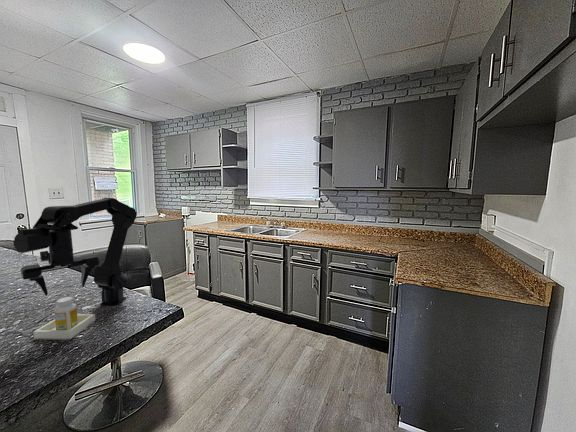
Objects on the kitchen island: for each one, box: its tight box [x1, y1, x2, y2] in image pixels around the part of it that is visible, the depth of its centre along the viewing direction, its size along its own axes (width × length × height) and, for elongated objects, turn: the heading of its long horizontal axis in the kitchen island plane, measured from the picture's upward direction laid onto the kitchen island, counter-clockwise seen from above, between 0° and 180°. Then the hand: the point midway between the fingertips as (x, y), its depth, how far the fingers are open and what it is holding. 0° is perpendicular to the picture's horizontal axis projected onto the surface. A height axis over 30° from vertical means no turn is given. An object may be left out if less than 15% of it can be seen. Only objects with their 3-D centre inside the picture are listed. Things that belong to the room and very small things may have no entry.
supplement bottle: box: [53, 296, 78, 330], centre depth 81 cm, size 5×5×10 cm
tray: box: [33, 313, 96, 340], centre depth 82 cm, size 11×11×2 cm
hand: (65, 290), depth 84 cm, fingers open, 9 cm apart
